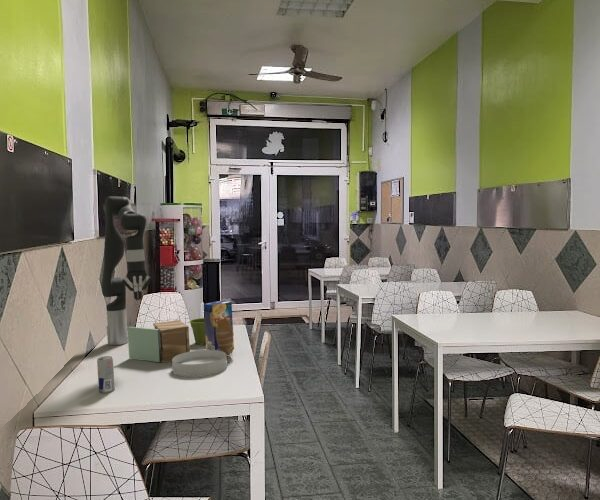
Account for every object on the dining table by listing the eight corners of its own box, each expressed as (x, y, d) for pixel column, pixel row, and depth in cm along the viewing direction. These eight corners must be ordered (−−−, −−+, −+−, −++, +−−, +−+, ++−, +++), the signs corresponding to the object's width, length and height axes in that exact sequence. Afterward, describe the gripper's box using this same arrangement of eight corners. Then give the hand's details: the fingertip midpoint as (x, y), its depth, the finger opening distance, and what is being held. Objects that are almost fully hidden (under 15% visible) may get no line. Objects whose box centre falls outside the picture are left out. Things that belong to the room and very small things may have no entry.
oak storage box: (155, 353, 235) (153, 323, 234) (181, 349, 240) (179, 319, 239) (162, 362, 219) (160, 330, 218) (190, 357, 224) (188, 326, 223)
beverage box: (234, 348, 238) (231, 301, 236) (215, 353, 230) (212, 305, 228) (224, 346, 242) (222, 300, 241) (206, 351, 234) (203, 304, 233)
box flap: (162, 361, 219) (160, 329, 218) (160, 362, 218) (158, 330, 217) (130, 357, 228) (129, 326, 227) (129, 357, 227) (127, 327, 226)
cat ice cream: (236, 357, 222) (234, 316, 221) (218, 359, 219) (216, 318, 218) (232, 352, 230) (230, 313, 229) (215, 354, 228) (213, 315, 227)
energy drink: (101, 388, 187) (99, 356, 186) (116, 387, 187) (114, 355, 186) (97, 393, 181) (94, 360, 181) (112, 392, 182) (110, 359, 181)
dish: (179, 380, 193) (179, 368, 193) (166, 367, 213) (165, 355, 212) (235, 370, 203) (234, 358, 203) (217, 358, 223) (217, 347, 222)
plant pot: (212, 338, 260) (211, 316, 259) (216, 343, 248) (215, 320, 248) (189, 341, 256) (187, 319, 255) (191, 346, 245) (190, 323, 244)
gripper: (120, 261, 213) (123, 302, 214) (153, 259, 219) (155, 299, 220) (118, 260, 220) (120, 300, 221) (150, 258, 225) (152, 297, 227)
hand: (138, 299), depth 220 cm, fingers closed
